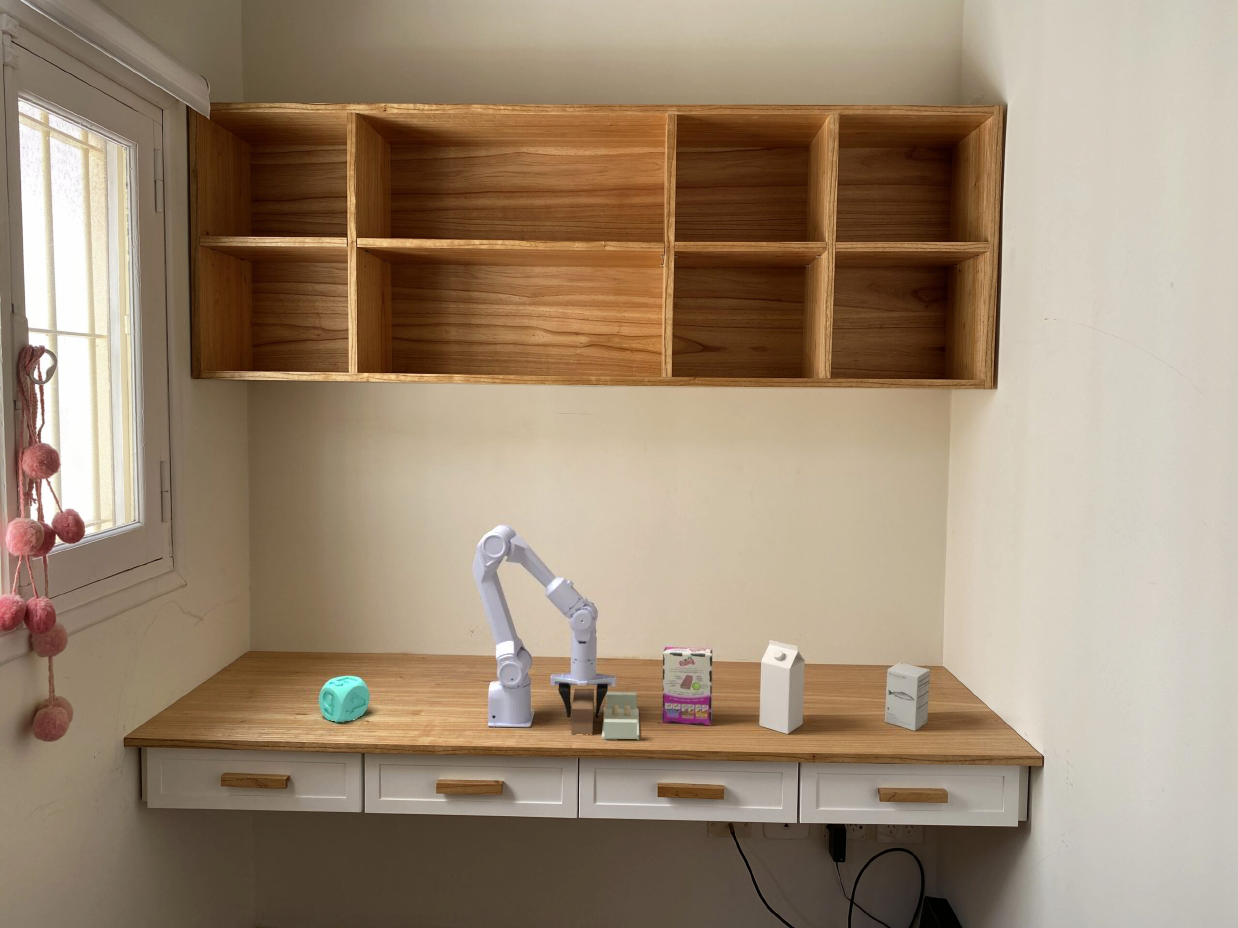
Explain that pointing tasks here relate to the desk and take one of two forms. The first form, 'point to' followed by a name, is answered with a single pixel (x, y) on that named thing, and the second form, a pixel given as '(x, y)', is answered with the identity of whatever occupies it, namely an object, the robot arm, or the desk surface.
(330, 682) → the decorative dice
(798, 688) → the milk carton
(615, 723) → the peg frame
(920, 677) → the supplement box
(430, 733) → the desk surface
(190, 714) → the desk surface
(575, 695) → the brown rectangular block
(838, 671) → the desk surface
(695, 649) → the candy bar box
